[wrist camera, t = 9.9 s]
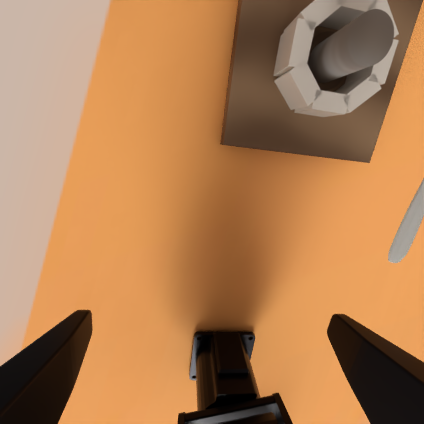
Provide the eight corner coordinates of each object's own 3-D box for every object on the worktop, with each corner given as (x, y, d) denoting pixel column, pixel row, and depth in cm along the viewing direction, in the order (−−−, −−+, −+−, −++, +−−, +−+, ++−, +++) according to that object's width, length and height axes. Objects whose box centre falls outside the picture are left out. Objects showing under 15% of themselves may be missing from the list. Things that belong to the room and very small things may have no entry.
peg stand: (356, 160, 20) (425, 171, 14) (220, 144, 18) (236, 148, 12) (409, -12, 16) (532, -92, 10) (245, -54, 14) (284, -177, 9)
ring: (348, 121, 17) (373, 118, 15) (267, 108, 16) (280, 104, 14) (378, 18, 15) (412, -3, 13) (287, -4, 14) (307, -30, 12)
